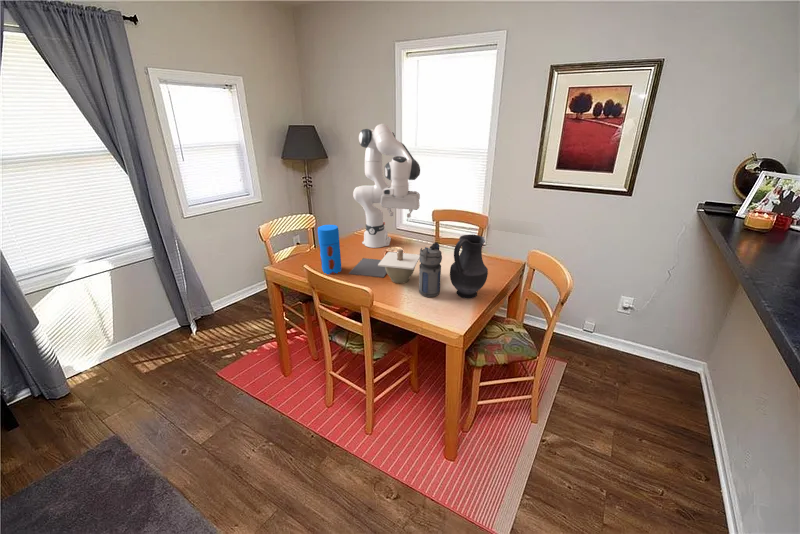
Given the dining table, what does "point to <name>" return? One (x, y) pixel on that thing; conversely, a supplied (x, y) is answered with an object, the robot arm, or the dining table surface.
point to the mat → (369, 268)
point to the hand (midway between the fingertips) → (400, 216)
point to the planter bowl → (399, 274)
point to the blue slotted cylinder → (329, 248)
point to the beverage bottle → (430, 271)
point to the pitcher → (468, 266)
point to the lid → (399, 260)
